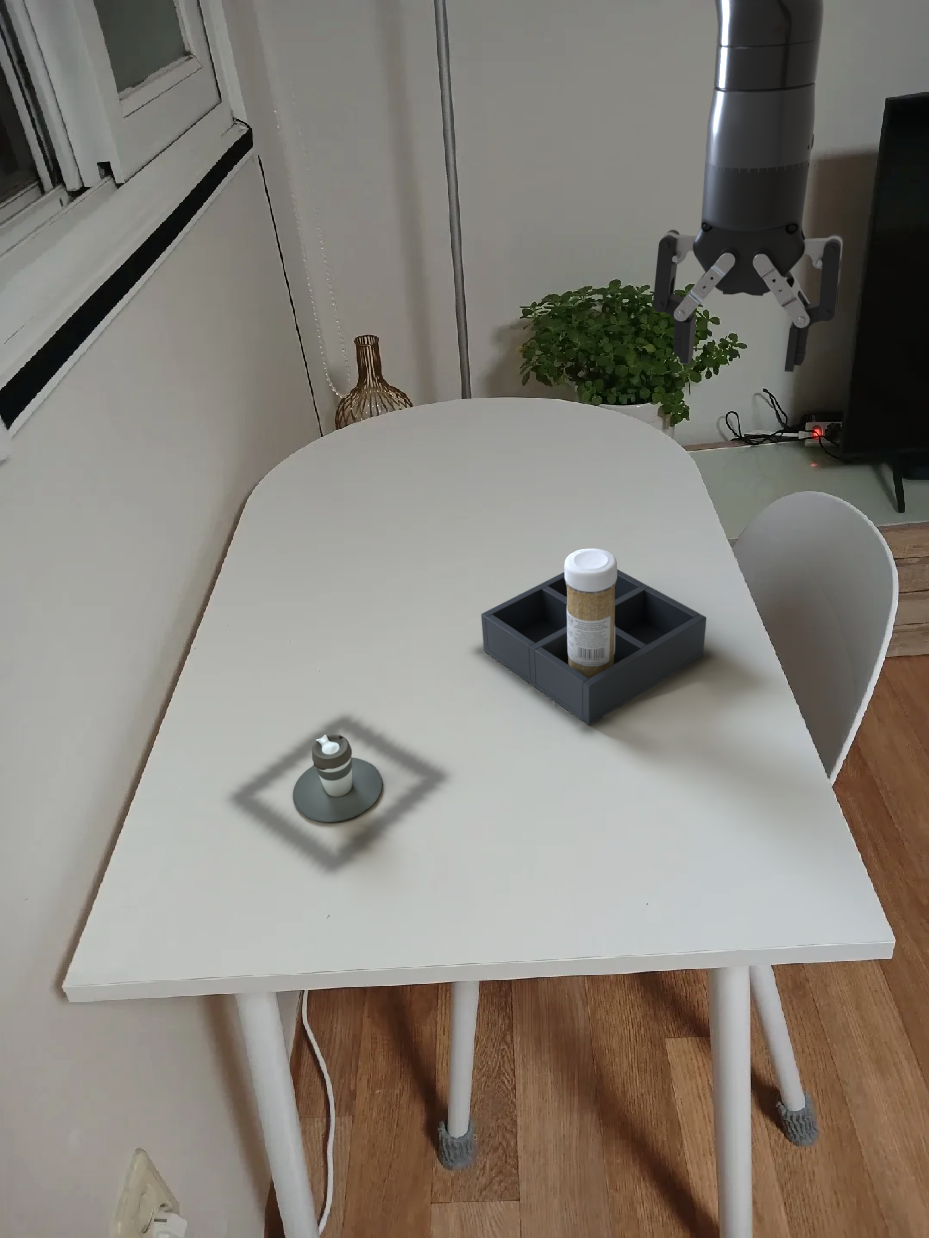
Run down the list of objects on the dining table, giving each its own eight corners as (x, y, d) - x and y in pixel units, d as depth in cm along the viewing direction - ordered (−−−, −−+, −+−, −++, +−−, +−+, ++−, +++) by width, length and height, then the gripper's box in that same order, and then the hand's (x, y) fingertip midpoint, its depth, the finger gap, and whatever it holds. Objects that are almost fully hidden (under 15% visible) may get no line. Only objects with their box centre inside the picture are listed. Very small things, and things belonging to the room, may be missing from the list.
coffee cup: (335, 863, 75) (325, 820, 73) (241, 797, 82) (228, 755, 79) (436, 776, 82) (431, 734, 80) (342, 722, 89) (334, 681, 86)
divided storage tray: (703, 655, 94) (706, 617, 91) (588, 725, 86) (589, 686, 84) (593, 592, 104) (594, 556, 101) (483, 650, 97) (480, 613, 94)
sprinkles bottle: (620, 670, 91) (623, 550, 84) (606, 699, 88) (608, 577, 80) (575, 661, 93) (573, 542, 85) (559, 689, 90) (557, 569, 82)
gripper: (650, 164, 70) (643, 375, 80) (855, 163, 65) (822, 388, 75) (672, 145, 76) (663, 344, 85) (863, 143, 71) (831, 355, 80)
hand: (737, 365), depth 80 cm, fingers open, 8 cm apart
